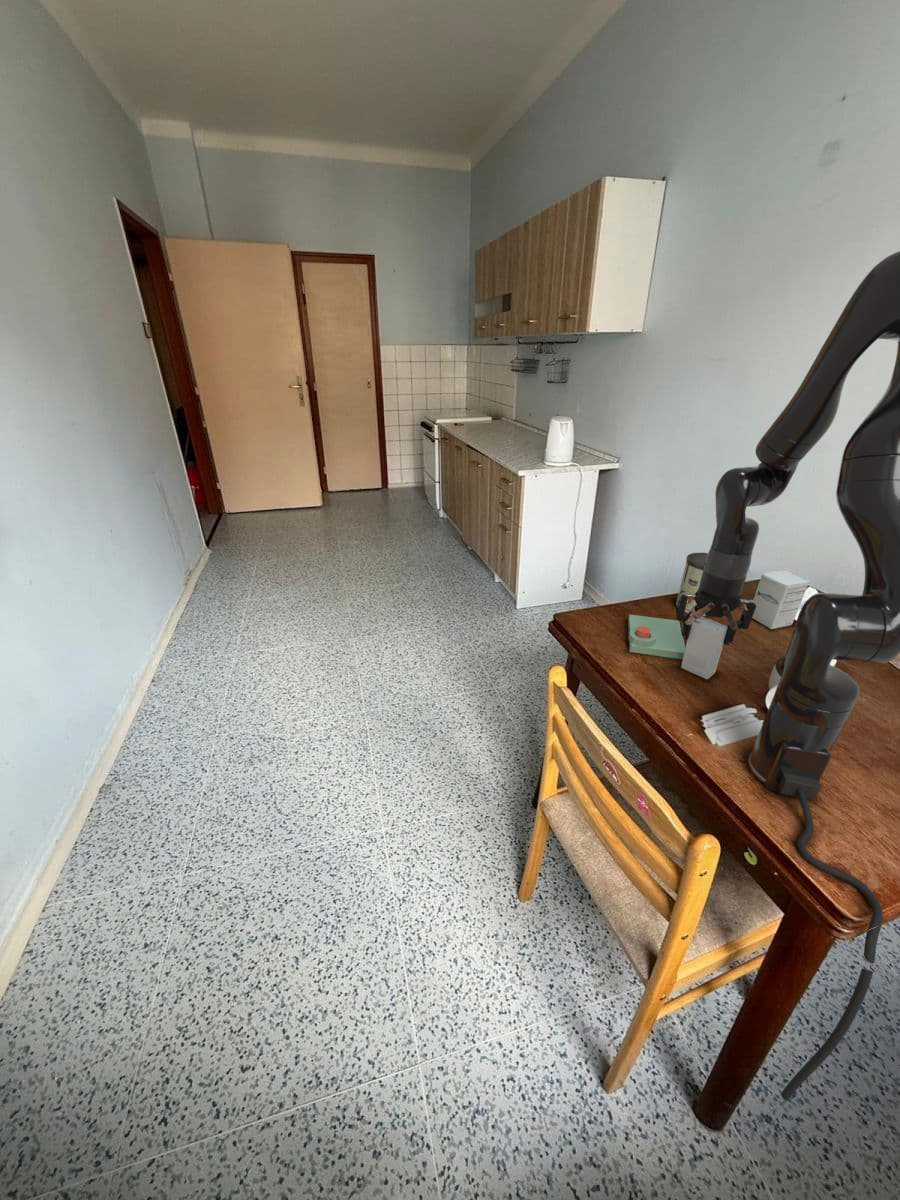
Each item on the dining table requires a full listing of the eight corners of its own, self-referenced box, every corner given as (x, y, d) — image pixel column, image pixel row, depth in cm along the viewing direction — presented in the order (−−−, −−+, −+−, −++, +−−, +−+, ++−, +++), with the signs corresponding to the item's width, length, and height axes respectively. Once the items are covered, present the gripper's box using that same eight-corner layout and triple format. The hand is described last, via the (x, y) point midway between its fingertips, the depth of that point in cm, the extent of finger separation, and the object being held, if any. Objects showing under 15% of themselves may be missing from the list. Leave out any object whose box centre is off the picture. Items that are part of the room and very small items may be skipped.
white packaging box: (746, 616, 124) (760, 572, 118) (768, 611, 126) (783, 568, 120) (770, 630, 118) (787, 585, 112) (793, 625, 120) (810, 580, 114)
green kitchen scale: (685, 660, 107) (688, 647, 106) (627, 651, 111) (629, 639, 109) (677, 626, 120) (680, 615, 118) (626, 620, 123) (628, 608, 122)
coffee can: (718, 603, 130) (732, 556, 124) (715, 620, 123) (729, 570, 116) (678, 595, 135) (689, 549, 128) (672, 610, 127) (684, 562, 121)
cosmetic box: (716, 672, 103) (730, 625, 97) (706, 681, 101) (721, 633, 95) (688, 660, 107) (701, 614, 102) (678, 668, 105) (690, 621, 99)
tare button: (649, 640, 109) (651, 633, 108) (636, 638, 110) (637, 631, 109) (648, 633, 112) (650, 627, 111) (635, 631, 113) (636, 625, 112)
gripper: (688, 573, 91) (670, 644, 99) (772, 582, 87) (747, 655, 95) (683, 558, 97) (667, 626, 105) (761, 566, 94) (738, 635, 102)
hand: (705, 639), depth 100 cm, fingers closed on cosmetic box, 7 cm apart
